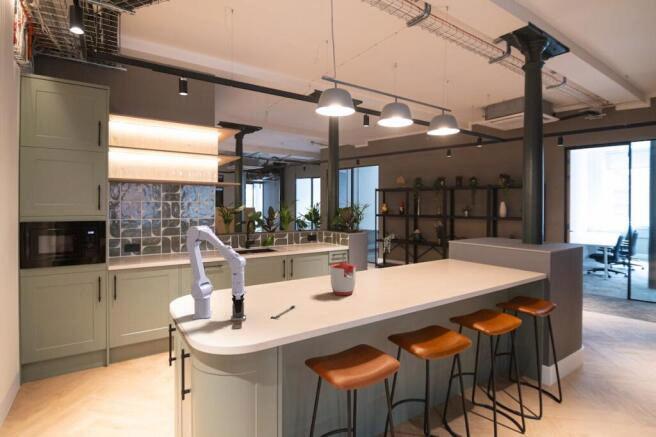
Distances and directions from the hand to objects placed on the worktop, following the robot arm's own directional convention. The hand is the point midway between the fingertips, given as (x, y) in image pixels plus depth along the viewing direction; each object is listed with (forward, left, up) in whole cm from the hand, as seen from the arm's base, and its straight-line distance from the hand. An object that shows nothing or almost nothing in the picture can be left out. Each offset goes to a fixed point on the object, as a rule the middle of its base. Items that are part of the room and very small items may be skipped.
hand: (238, 310), depth 170 cm
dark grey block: (0, 0, -3) cm, 3 cm away
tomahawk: (-6, +23, -5) cm, 25 cm away
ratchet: (+4, 0, -4) cm, 6 cm away
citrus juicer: (-36, +62, -5) cm, 72 cm away
